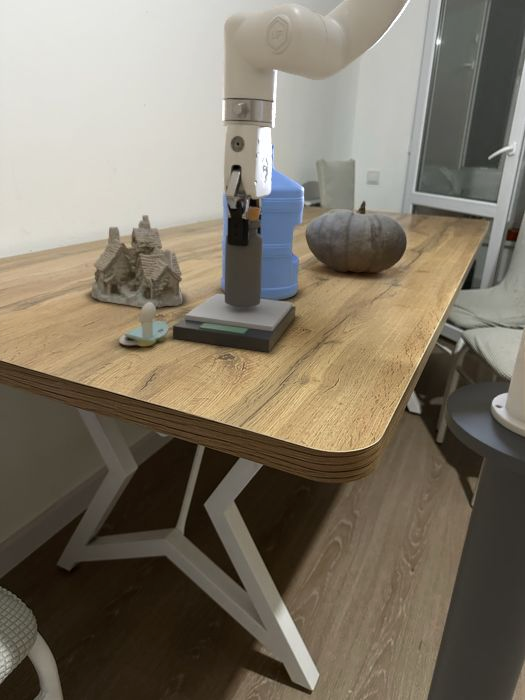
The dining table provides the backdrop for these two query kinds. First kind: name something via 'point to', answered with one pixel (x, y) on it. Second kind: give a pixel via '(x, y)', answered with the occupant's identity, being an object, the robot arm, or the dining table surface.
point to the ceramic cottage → (137, 270)
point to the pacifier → (146, 328)
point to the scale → (236, 323)
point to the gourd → (356, 240)
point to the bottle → (245, 266)
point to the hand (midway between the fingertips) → (244, 241)
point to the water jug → (276, 236)
